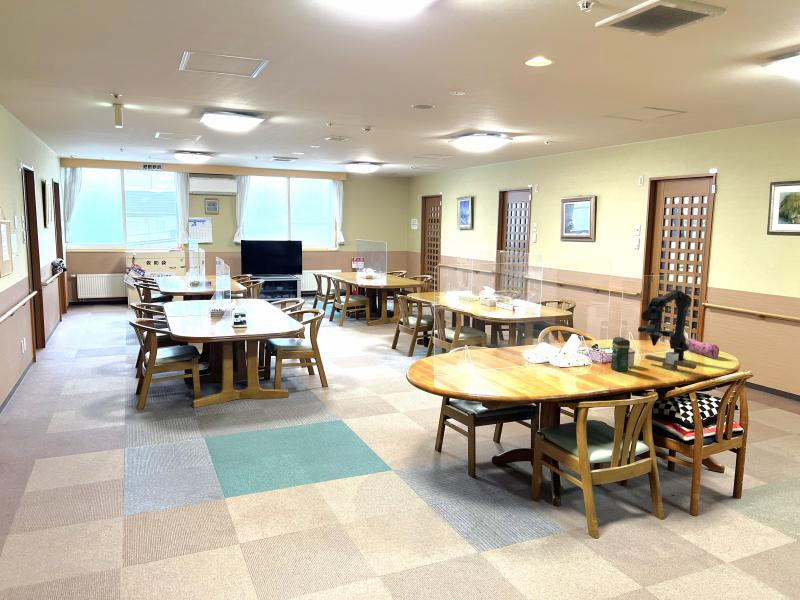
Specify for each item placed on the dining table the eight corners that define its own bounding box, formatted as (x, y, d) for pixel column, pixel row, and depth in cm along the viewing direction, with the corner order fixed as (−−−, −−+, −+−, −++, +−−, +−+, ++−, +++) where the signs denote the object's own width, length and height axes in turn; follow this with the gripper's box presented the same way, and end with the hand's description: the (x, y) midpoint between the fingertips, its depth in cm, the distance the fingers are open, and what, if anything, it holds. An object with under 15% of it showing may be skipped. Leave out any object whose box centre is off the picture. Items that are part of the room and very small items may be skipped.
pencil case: (683, 351, 383) (684, 337, 382) (694, 350, 386) (696, 337, 384) (708, 359, 363) (710, 345, 362) (720, 358, 366) (722, 344, 364)
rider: (669, 361, 343) (670, 351, 342) (677, 363, 339) (678, 353, 338) (664, 362, 339) (665, 353, 338) (673, 364, 336) (674, 354, 335)
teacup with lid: (625, 362, 352) (627, 343, 350) (637, 366, 344) (639, 346, 342) (610, 364, 347) (611, 345, 345) (621, 368, 339) (623, 348, 337)
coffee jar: (630, 371, 332) (632, 339, 329) (617, 372, 330) (619, 339, 327) (620, 367, 341) (623, 335, 338) (608, 367, 340) (610, 336, 337)
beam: (648, 362, 353) (649, 354, 352) (696, 372, 332) (697, 364, 331) (643, 364, 348) (644, 355, 348) (692, 374, 328) (693, 365, 327)
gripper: (634, 318, 345) (632, 344, 347) (666, 323, 331) (663, 350, 334) (643, 316, 352) (641, 342, 355) (674, 321, 338) (672, 348, 341)
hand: (654, 345), depth 346 cm, fingers closed
